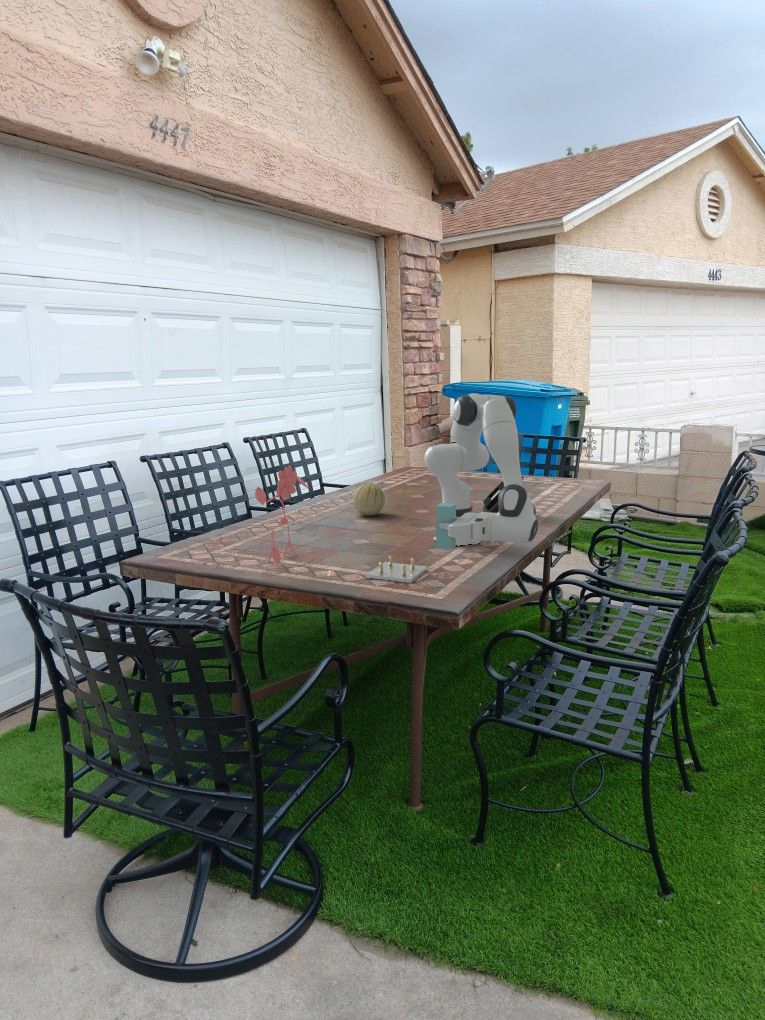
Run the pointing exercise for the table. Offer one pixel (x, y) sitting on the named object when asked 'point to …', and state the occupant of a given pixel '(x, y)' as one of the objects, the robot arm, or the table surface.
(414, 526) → the table surface
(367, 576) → the post plate
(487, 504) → the voltmeter
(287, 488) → the figurine
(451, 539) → the teal block
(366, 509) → the cantaloupe
